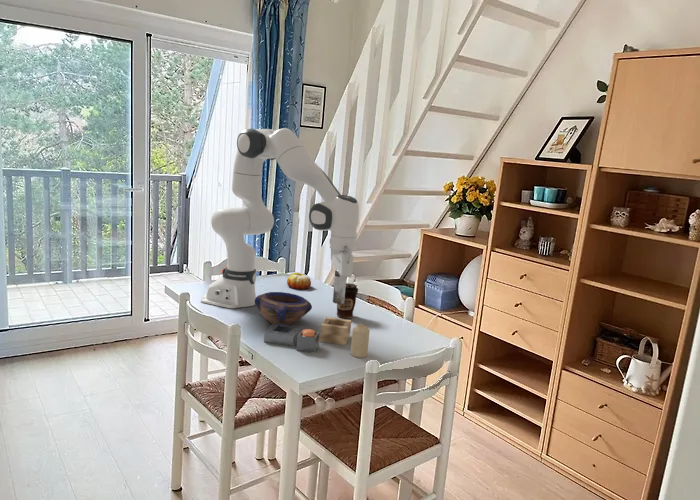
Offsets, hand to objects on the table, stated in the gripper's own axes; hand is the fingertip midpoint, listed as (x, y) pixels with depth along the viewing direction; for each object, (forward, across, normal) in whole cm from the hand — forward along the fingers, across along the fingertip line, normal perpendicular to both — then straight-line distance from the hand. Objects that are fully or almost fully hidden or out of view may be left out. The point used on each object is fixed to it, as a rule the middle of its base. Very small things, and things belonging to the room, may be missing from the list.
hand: (339, 283), depth 181 cm
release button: (+19, -9, +11) cm, 23 cm away
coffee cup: (+20, +25, -8) cm, 33 cm away
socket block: (+20, 0, +18) cm, 27 cm away
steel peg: (+7, 0, 0) cm, 7 cm away
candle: (+20, -14, -5) cm, 25 cm away
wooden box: (+20, 0, 0) cm, 20 cm away
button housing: (+20, -9, +11) cm, 24 cm away
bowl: (+20, +17, +17) cm, 32 cm away
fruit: (+20, +66, +5) cm, 70 cm away
